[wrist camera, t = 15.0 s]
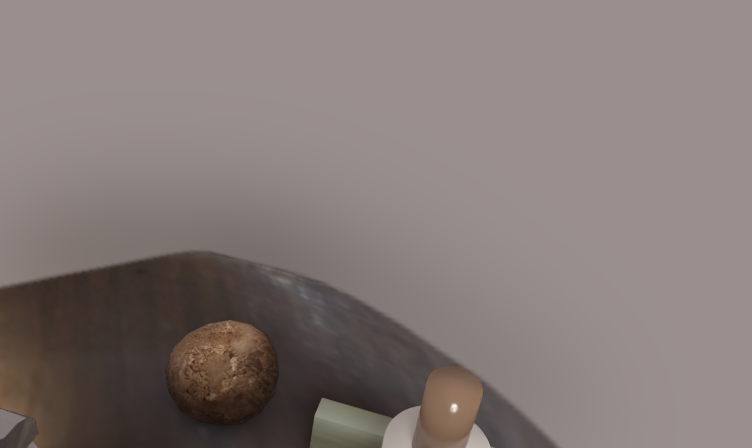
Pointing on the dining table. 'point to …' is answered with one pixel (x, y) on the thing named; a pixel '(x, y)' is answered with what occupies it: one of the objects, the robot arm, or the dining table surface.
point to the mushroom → (222, 372)
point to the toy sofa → (347, 427)
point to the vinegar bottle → (441, 414)
